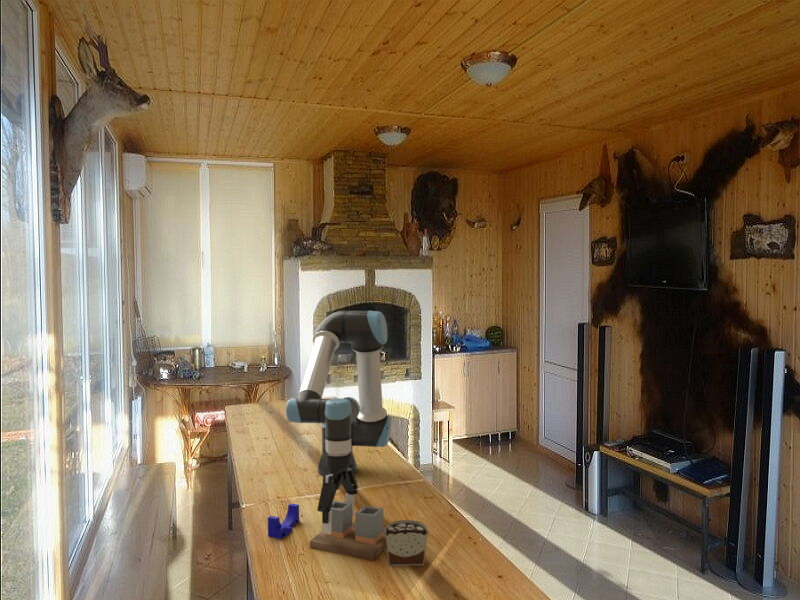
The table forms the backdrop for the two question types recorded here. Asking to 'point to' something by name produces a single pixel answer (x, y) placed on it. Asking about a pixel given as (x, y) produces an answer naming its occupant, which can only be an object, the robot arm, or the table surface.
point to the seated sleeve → (369, 525)
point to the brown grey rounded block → (406, 542)
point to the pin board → (349, 545)
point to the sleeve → (341, 519)
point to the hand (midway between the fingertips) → (338, 524)
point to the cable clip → (283, 523)
